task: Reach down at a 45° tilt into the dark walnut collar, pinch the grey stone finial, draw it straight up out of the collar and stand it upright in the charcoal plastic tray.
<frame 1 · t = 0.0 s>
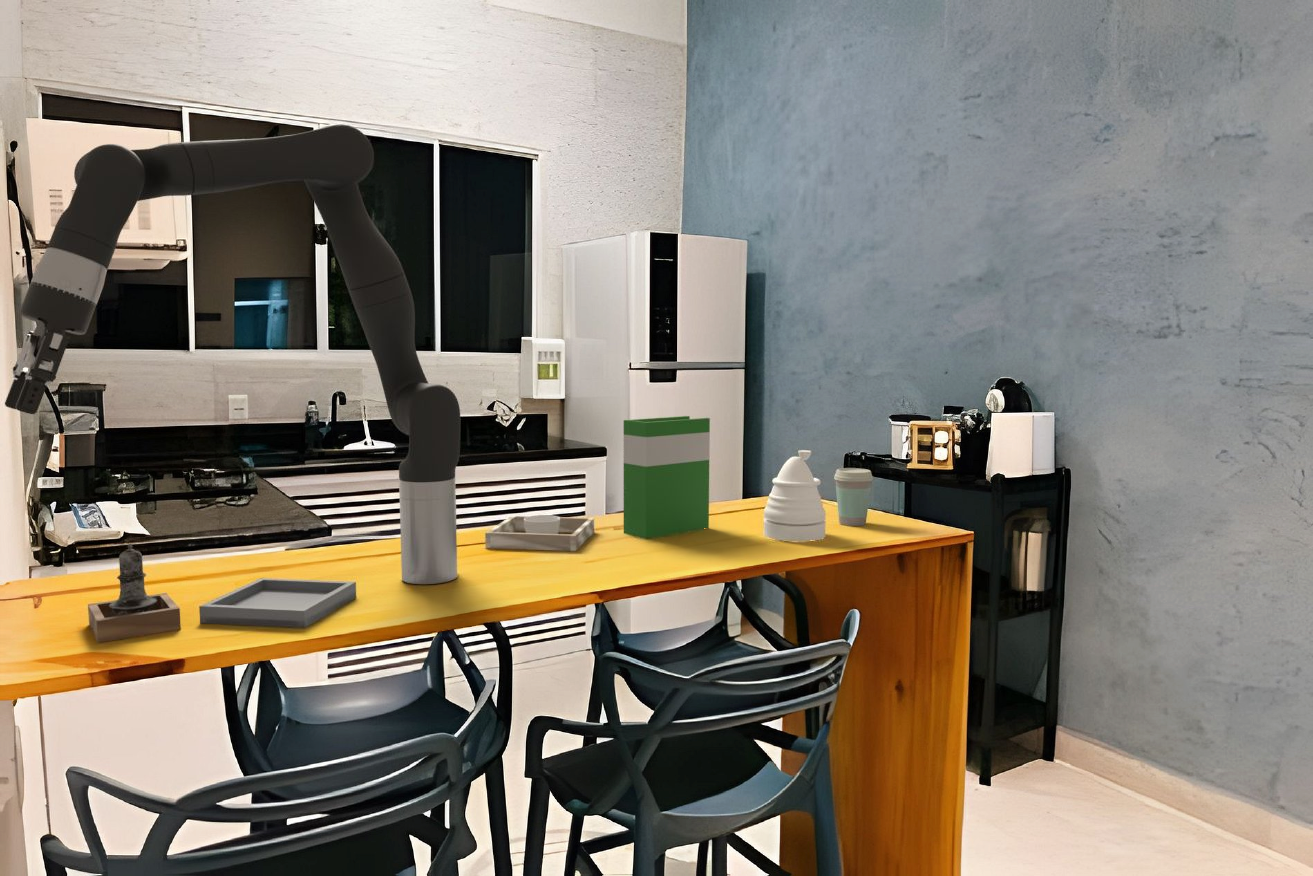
hand: (19, 410, 118), 31 cm above the table, tool tilted 20°, fingers open, 8 cm apart
collar: (134, 627, 132), on the table
honey pot: (794, 536, 195), on the table
tray: (282, 609, 140), on the table
coffee cup: (852, 524, 208), on the table
teacup guard: (542, 539, 190), on the table
grey stone finial: (134, 628, 132), resting in collar
teacup: (542, 542, 190), resting in teacup guard
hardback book: (666, 531, 200), on the table
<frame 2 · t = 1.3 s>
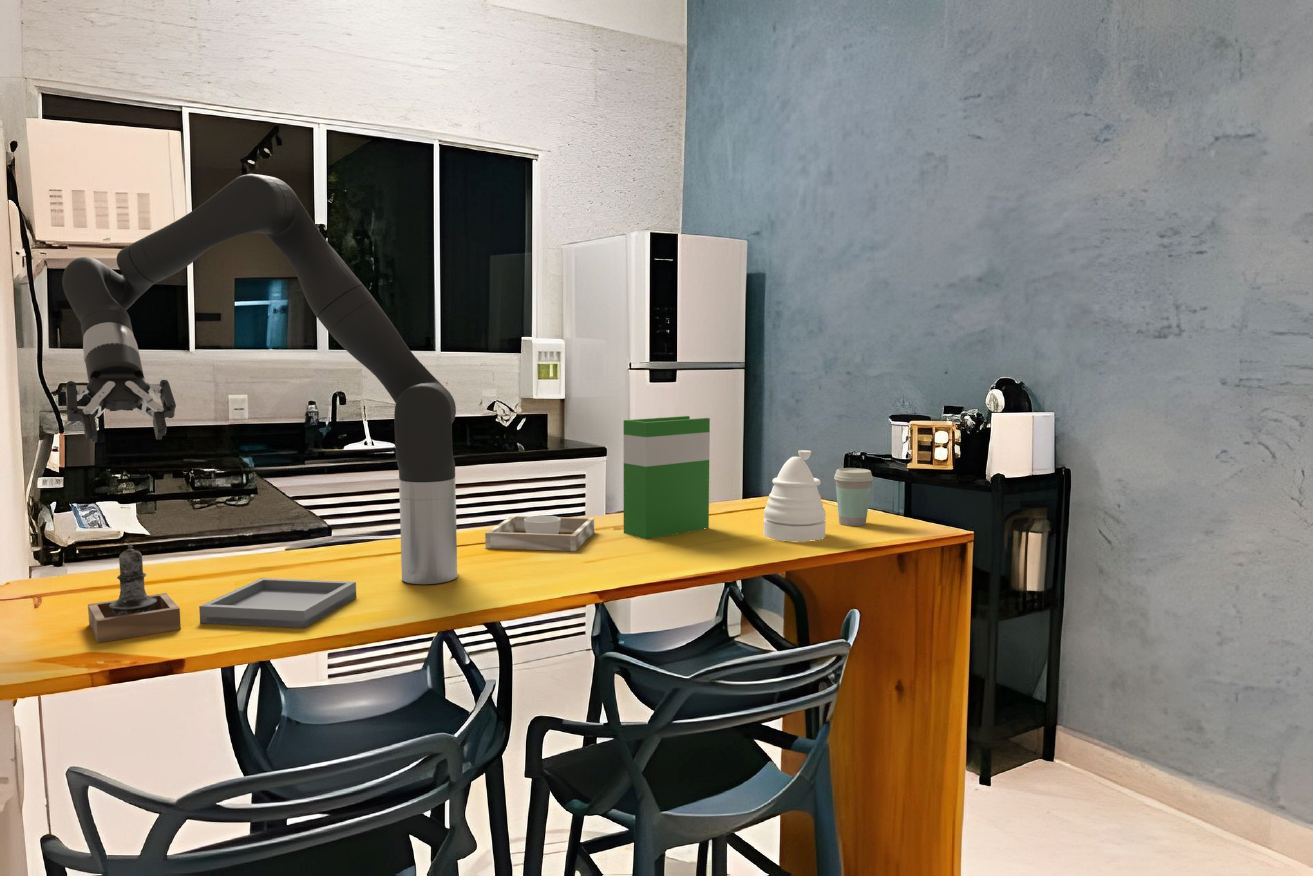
hand: (127, 437, 139), 26 cm above the table, tool tilted 45°, fingers open, 8 cm apart
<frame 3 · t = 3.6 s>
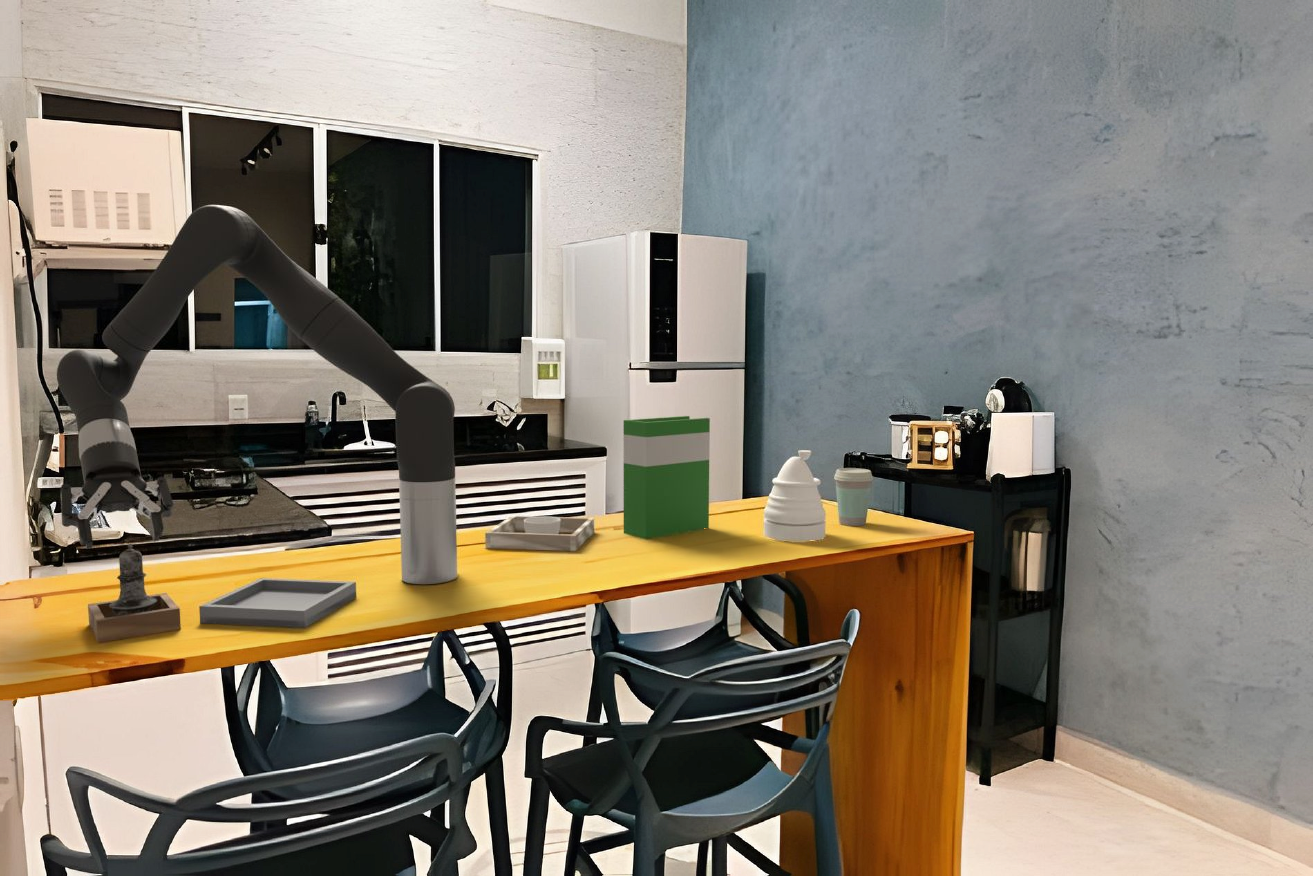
hand: (123, 541, 135), 11 cm above the table, tool tilted 45°, fingers open, 8 cm apart
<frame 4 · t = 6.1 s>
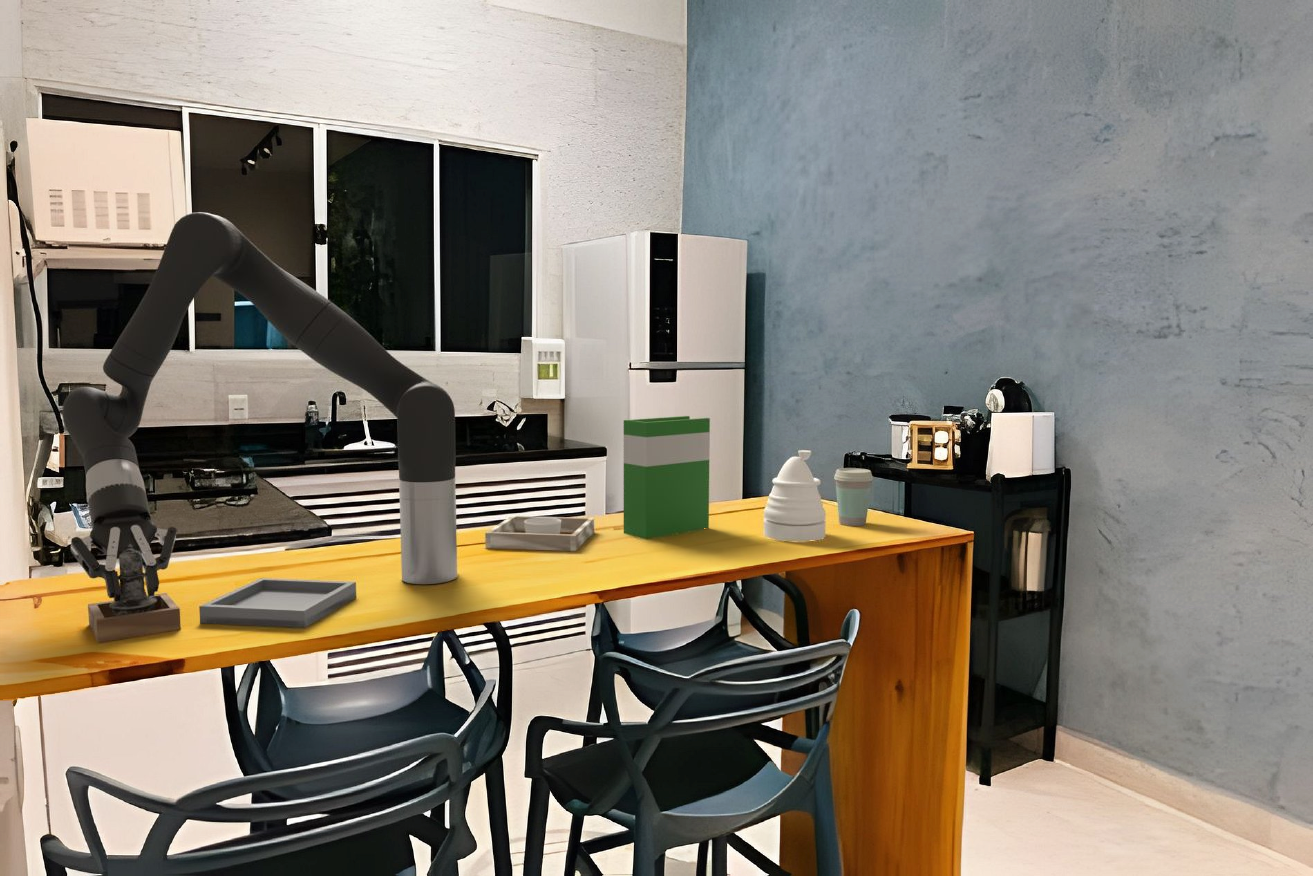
hand: (135, 595, 130), 5 cm above the table, tool tilted 45°, fingers closed on grey stone finial, 3 cm apart
grey stone finial: (134, 628, 132), resting in collar, touching gripper
teacup: (543, 544, 188), resting in teacup guard
everything else where it was.
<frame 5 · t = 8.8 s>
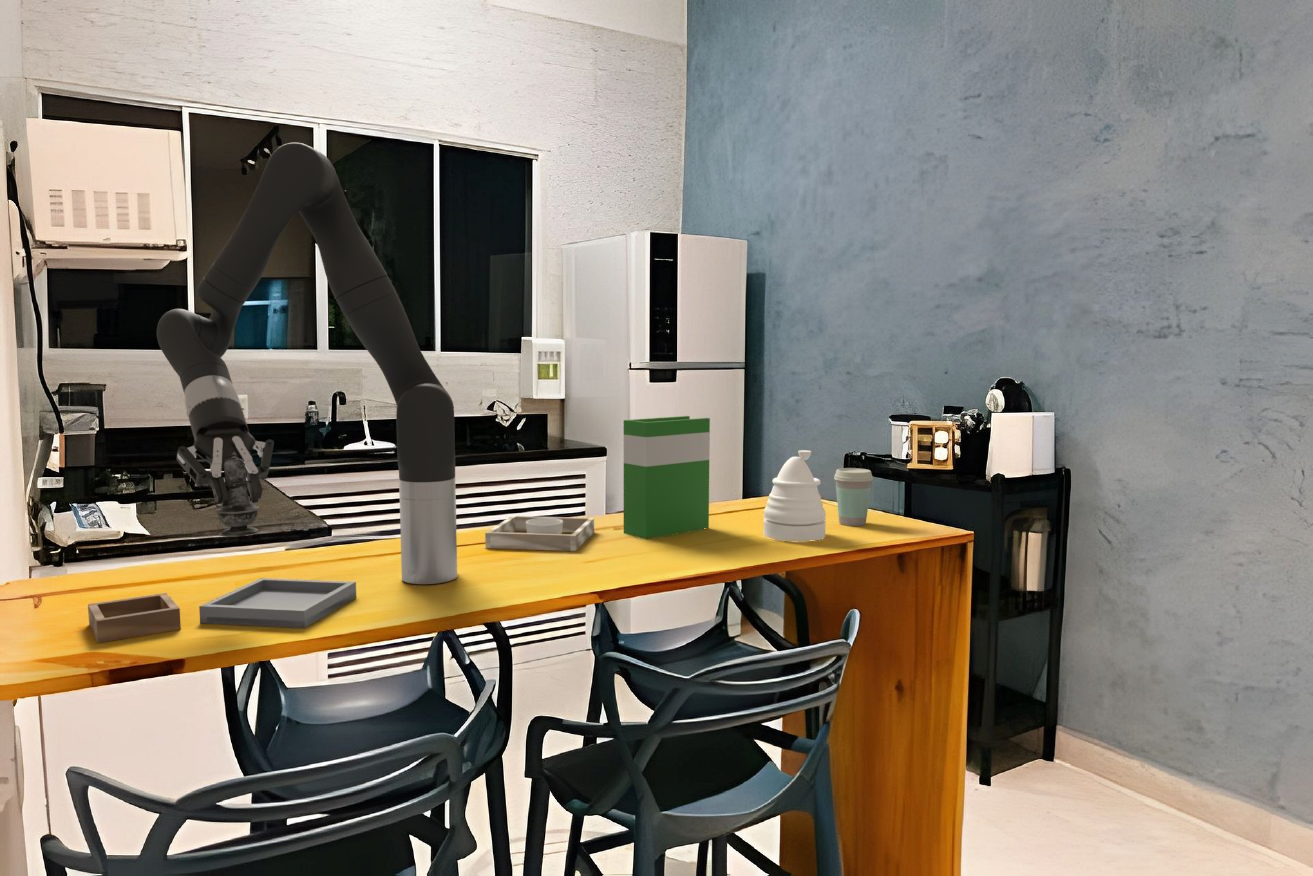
hand: (241, 500, 135), 17 cm above the table, tool tilted 45°, fingers closed on grey stone finial, 3 cm apart
grey stone finial: (239, 534, 137), point 12 cm above the table, touching gripper
when the fingers open (7 cm above the table, at t = 11.6 s): grey stone finial drops 1 cm, resting on tray.
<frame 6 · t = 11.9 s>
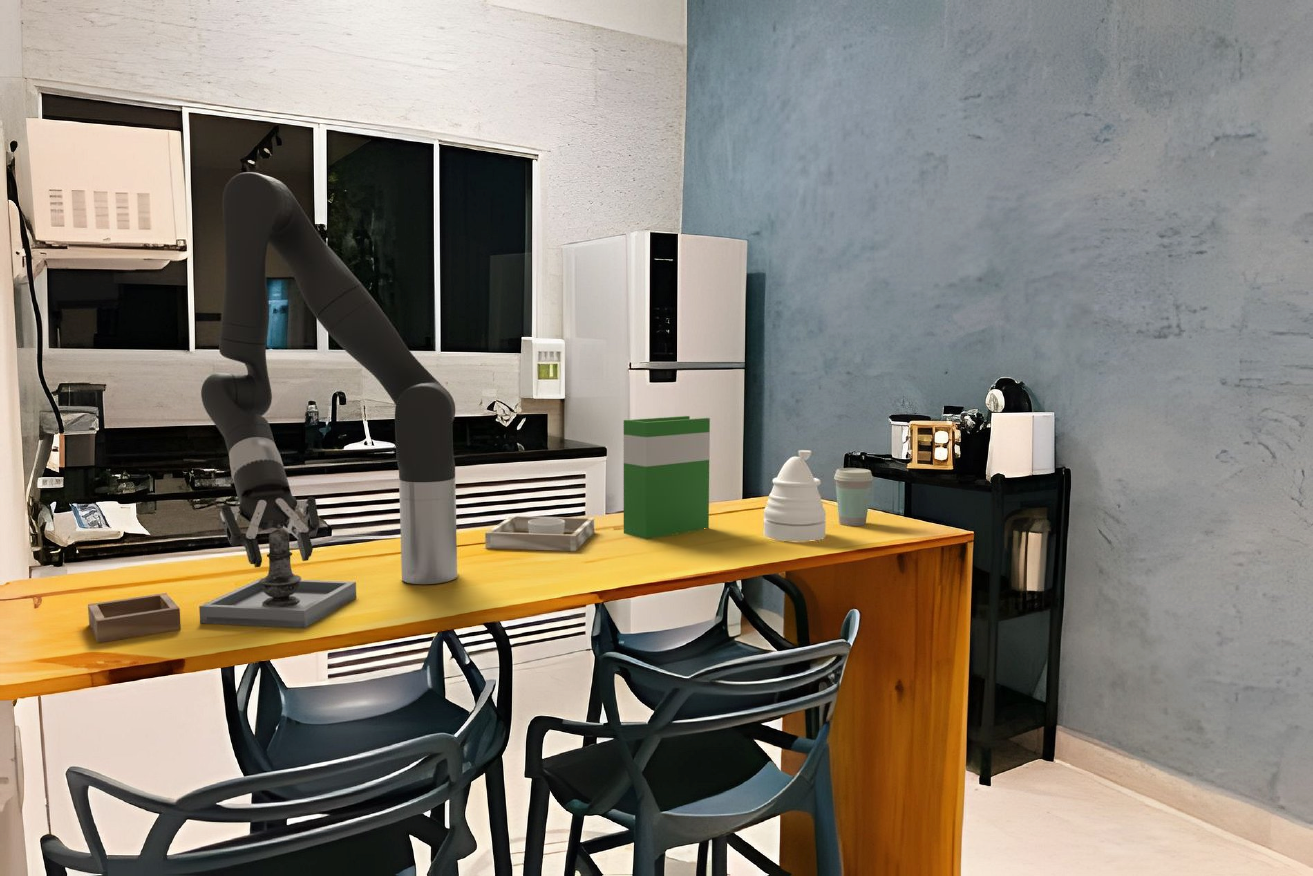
hand: (283, 560, 138), 8 cm above the table, tool tilted 45°, fingers open, 6 cm apart
grey stone finial: (281, 604, 141), point 1 cm above the table, touching tray
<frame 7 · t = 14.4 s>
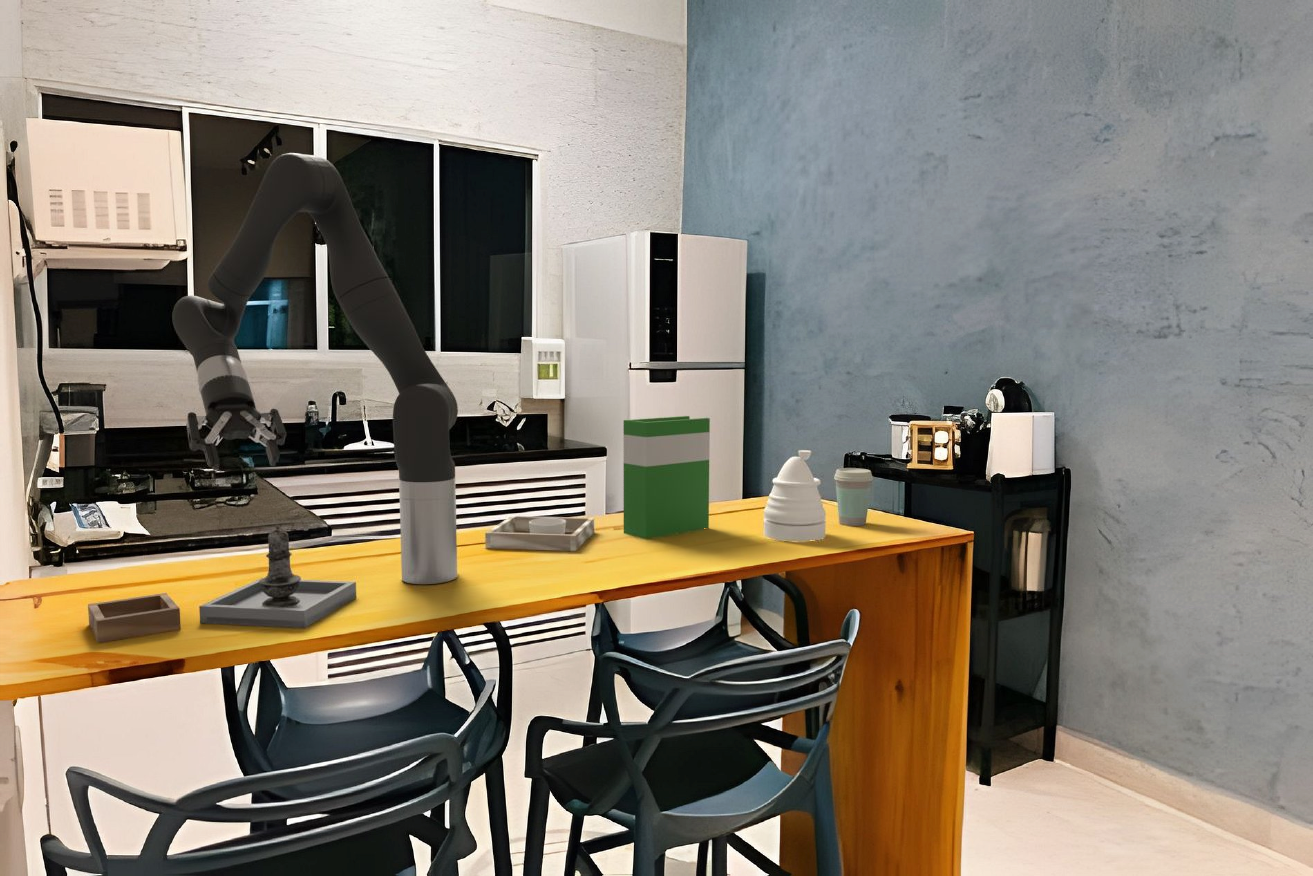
hand: (245, 464, 147), 21 cm above the table, tool tilted 45°, fingers open, 8 cm apart
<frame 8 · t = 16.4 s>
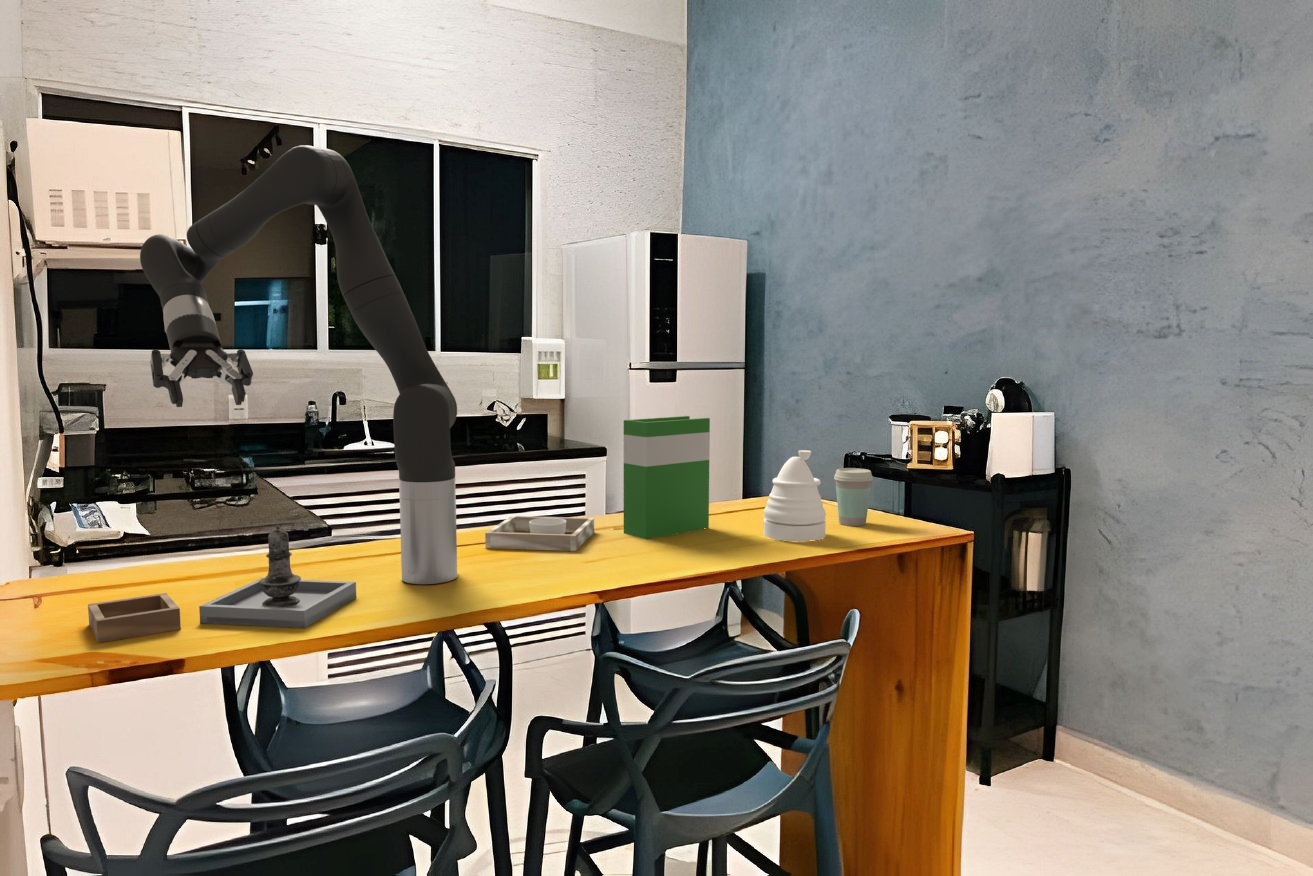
hand: (210, 402, 145), 31 cm above the table, tool tilted 45°, fingers open, 8 cm apart
at the end: grey stone finial inside the target area on the tray (0.2 cm from its centre), point 0.8 cm above the tray's base; grey stone finial tilted 0°; the gripper is holding nothing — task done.
